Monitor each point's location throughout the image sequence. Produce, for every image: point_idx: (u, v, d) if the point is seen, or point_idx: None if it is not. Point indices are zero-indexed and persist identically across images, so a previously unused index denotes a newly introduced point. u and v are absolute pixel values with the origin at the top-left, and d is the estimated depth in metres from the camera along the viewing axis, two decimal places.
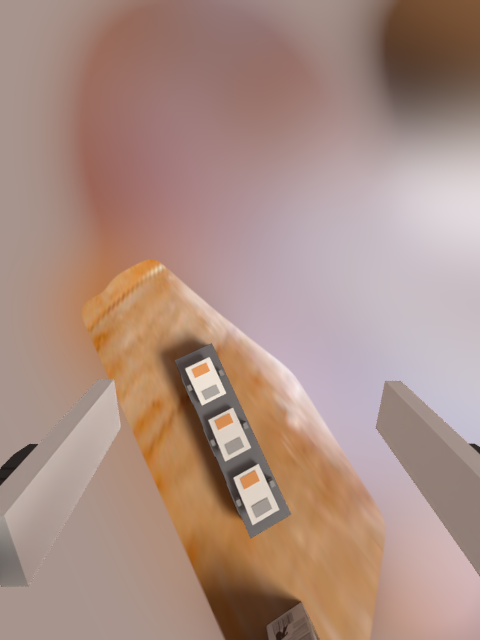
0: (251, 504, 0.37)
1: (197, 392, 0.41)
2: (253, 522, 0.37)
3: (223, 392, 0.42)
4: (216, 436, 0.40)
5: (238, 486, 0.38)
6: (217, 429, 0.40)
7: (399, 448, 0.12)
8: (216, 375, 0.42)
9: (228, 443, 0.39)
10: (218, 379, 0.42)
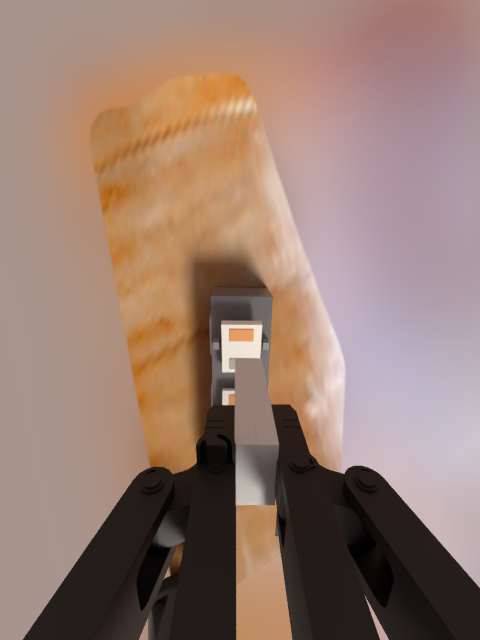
0: None
1: (223, 357, 0.29)
2: None
3: None
4: None
5: None
6: None
7: None
8: (258, 349, 0.29)
9: None
10: (258, 354, 0.29)
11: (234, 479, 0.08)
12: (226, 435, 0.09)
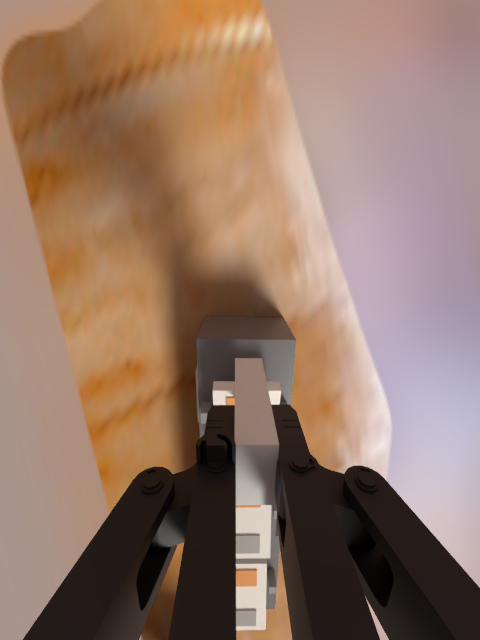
0: None
1: None
2: None
3: None
4: None
5: None
6: None
7: None
8: None
9: None
10: None
11: (234, 479, 0.08)
12: (226, 436, 0.09)
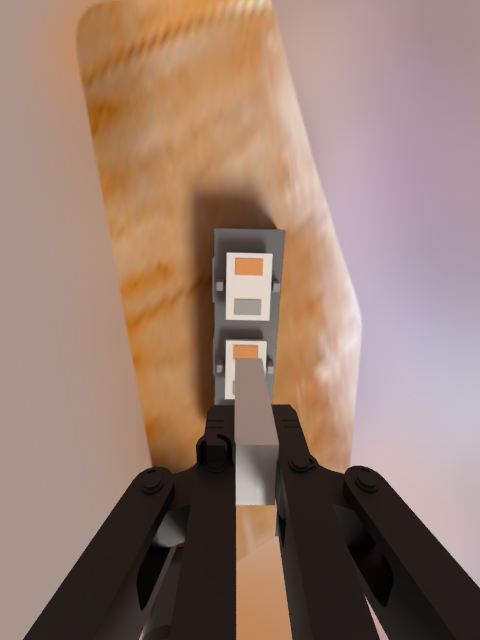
0: None
1: (228, 297, 0.25)
2: None
3: (265, 317, 0.26)
4: (227, 365, 0.28)
5: None
6: (232, 358, 0.27)
7: None
8: (268, 287, 0.25)
9: None
10: (268, 294, 0.25)
11: (234, 479, 0.08)
12: (226, 436, 0.09)
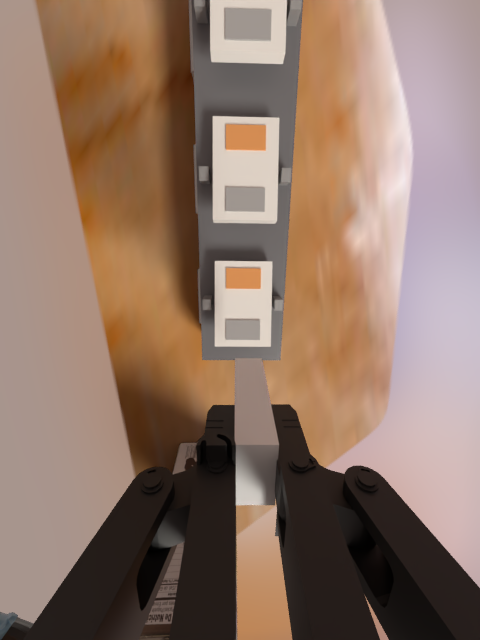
0: (227, 317, 0.20)
1: (214, 6, 0.14)
2: (218, 343, 0.20)
3: (279, 45, 0.15)
4: (216, 160, 0.17)
5: (217, 279, 0.19)
6: (224, 147, 0.17)
7: None
8: None
9: (234, 189, 0.17)
10: (283, 0, 0.14)
11: (234, 479, 0.08)
12: (226, 435, 0.09)
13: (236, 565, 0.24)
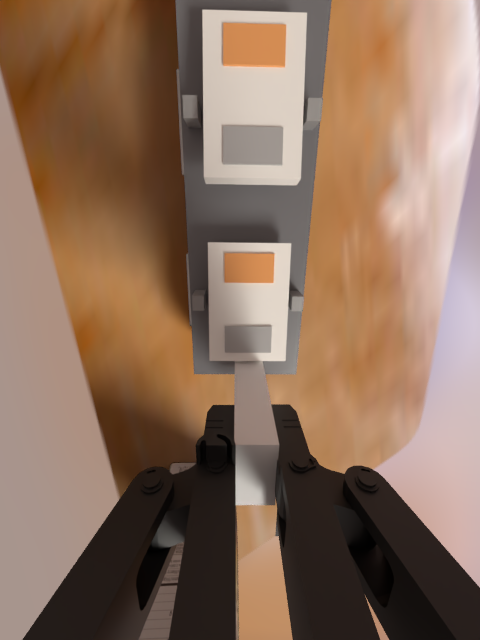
0: (226, 321, 0.14)
1: None
2: (213, 356, 0.15)
3: None
4: (208, 83, 0.11)
5: (212, 268, 0.14)
6: (221, 61, 0.11)
7: None
8: None
9: (237, 129, 0.11)
10: None
11: (234, 479, 0.08)
12: (226, 436, 0.09)
13: (238, 625, 0.19)
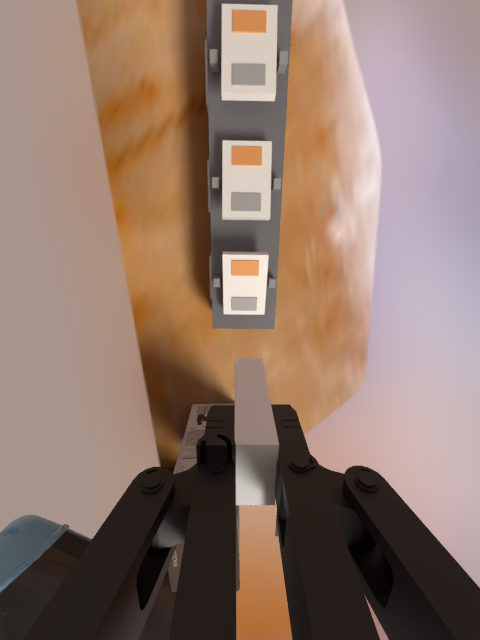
0: (232, 295, 0.26)
1: (224, 62, 0.20)
2: (225, 312, 0.27)
3: (271, 88, 0.20)
4: (224, 173, 0.23)
5: (225, 268, 0.25)
6: (231, 163, 0.23)
7: None
8: (273, 48, 0.20)
9: (238, 194, 0.23)
10: (273, 58, 0.20)
11: (234, 479, 0.08)
12: (226, 436, 0.09)
13: None
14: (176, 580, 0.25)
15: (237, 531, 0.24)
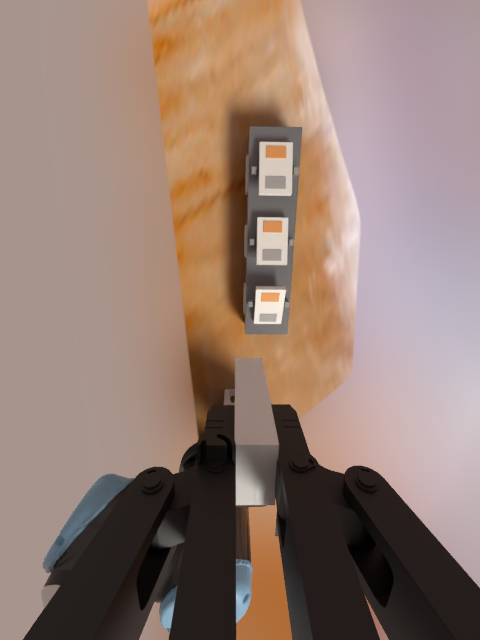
0: (261, 312, 0.40)
1: (261, 175, 0.34)
2: (255, 322, 0.41)
3: (289, 190, 0.34)
4: (258, 237, 0.36)
5: (257, 297, 0.38)
6: (262, 231, 0.36)
7: None
8: (290, 167, 0.34)
9: (267, 250, 0.36)
10: (290, 173, 0.34)
11: (234, 479, 0.08)
12: (226, 436, 0.09)
13: None
14: None
15: None
